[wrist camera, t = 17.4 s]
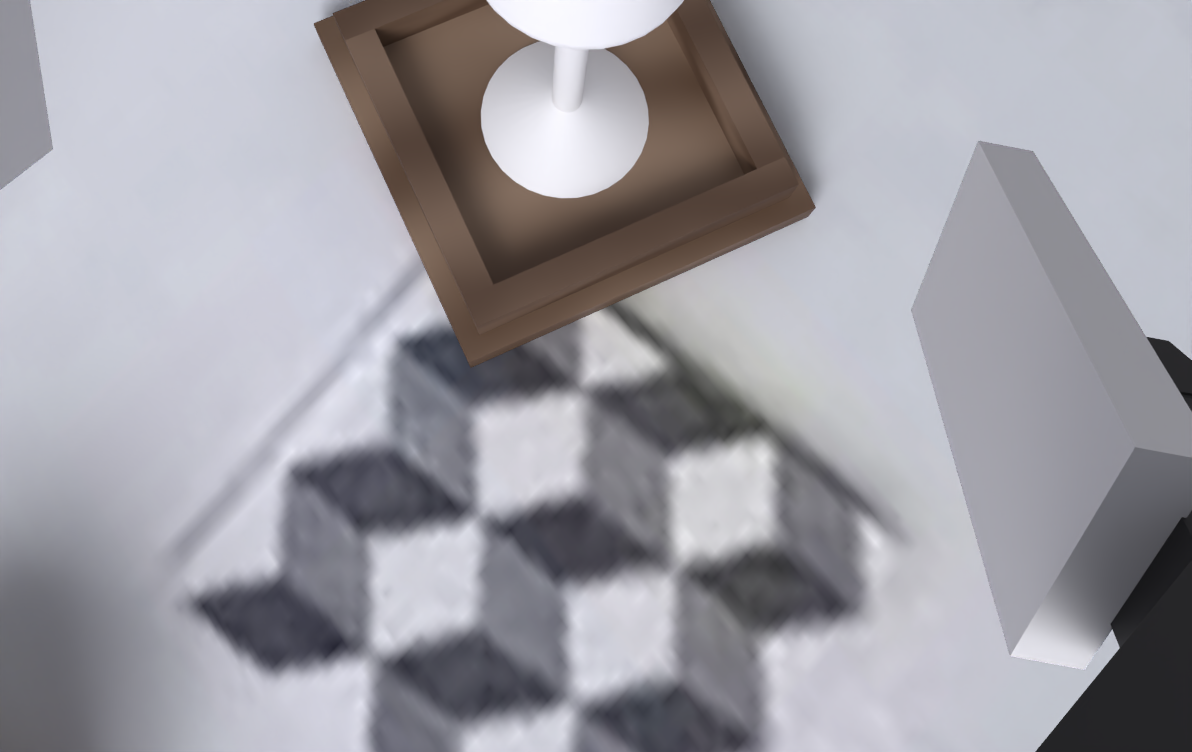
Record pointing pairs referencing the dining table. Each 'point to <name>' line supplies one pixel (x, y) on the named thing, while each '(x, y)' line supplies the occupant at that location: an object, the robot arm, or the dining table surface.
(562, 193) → the champagne flute
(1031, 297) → the robot arm
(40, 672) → the dining table surface
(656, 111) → the walnut stand
